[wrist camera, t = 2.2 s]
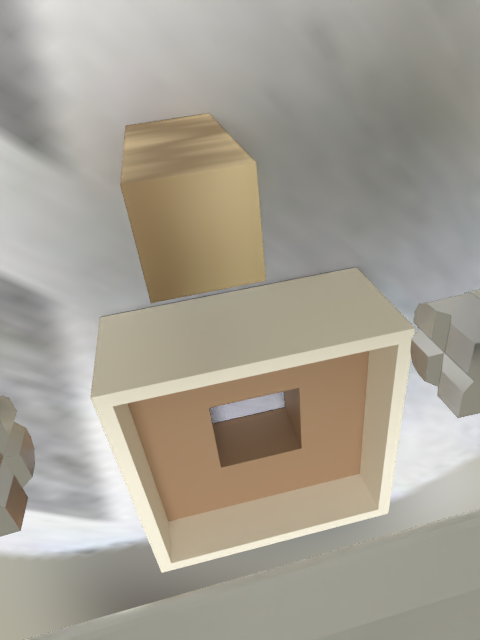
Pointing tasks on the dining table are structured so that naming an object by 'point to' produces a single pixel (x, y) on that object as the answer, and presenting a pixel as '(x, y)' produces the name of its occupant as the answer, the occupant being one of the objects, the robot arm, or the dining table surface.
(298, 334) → the bore box
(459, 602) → the robot arm
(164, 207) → the peg
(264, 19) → the dining table surface
